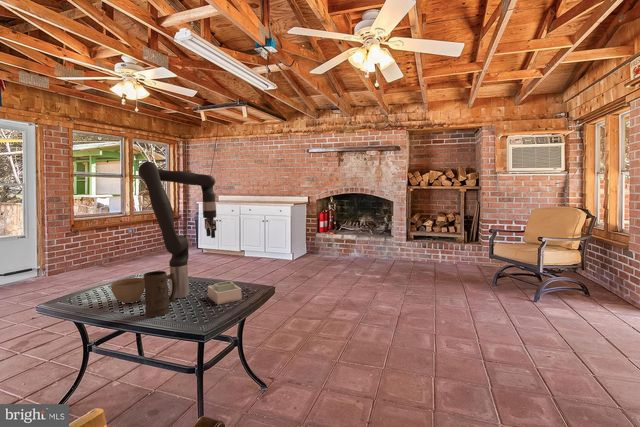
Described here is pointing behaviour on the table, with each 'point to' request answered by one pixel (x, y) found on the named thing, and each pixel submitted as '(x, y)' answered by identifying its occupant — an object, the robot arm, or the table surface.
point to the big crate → (224, 295)
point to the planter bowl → (128, 289)
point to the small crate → (224, 286)
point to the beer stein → (158, 293)
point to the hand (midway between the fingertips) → (210, 237)
